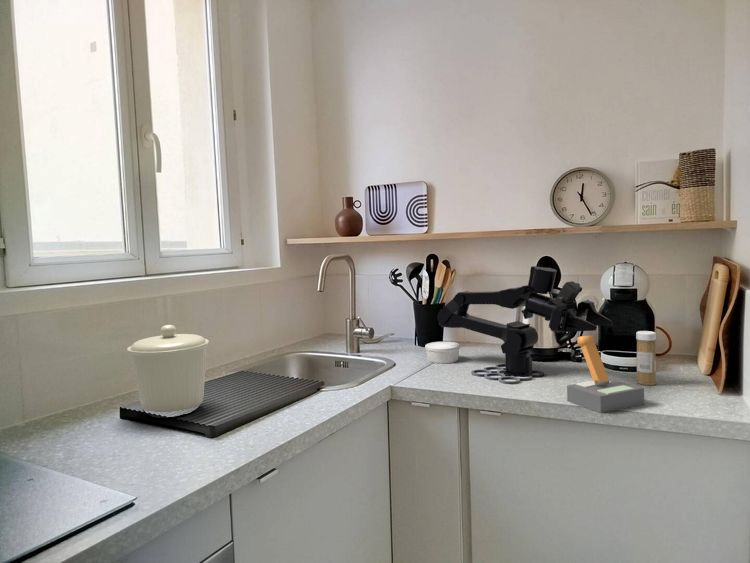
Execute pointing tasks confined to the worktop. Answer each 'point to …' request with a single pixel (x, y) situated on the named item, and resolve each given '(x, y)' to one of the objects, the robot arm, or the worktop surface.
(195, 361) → the canister
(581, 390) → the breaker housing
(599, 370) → the lever
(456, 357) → the ramekin
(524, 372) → the robot arm
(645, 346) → the sprinkles bottle
